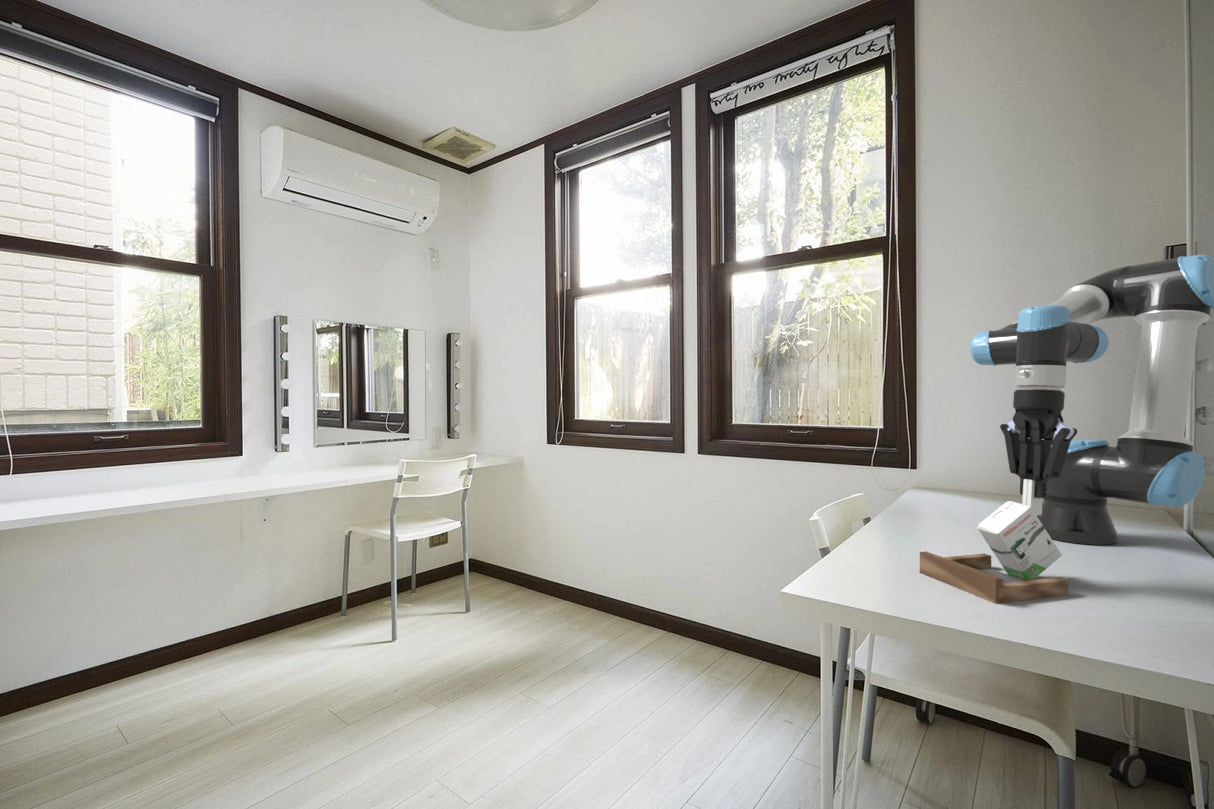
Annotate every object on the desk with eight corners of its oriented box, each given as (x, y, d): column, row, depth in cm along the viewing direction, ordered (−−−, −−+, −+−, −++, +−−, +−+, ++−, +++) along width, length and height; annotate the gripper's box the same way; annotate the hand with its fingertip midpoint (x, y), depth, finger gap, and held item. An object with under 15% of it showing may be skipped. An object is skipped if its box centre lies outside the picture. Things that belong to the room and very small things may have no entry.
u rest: (984, 565, 110) (984, 546, 110) (1068, 594, 94) (1068, 571, 94) (919, 572, 106) (919, 552, 106) (995, 603, 91) (995, 579, 91)
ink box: (1030, 584, 100) (996, 534, 98) (1006, 574, 105) (974, 527, 103) (1064, 554, 101) (1031, 504, 99) (1039, 546, 105) (1007, 499, 104)
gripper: (990, 388, 108) (983, 507, 109) (1059, 388, 95) (1051, 522, 96) (1020, 390, 110) (1014, 507, 110) (1092, 390, 97) (1084, 522, 98)
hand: (1031, 514), depth 103 cm, fingers closed
